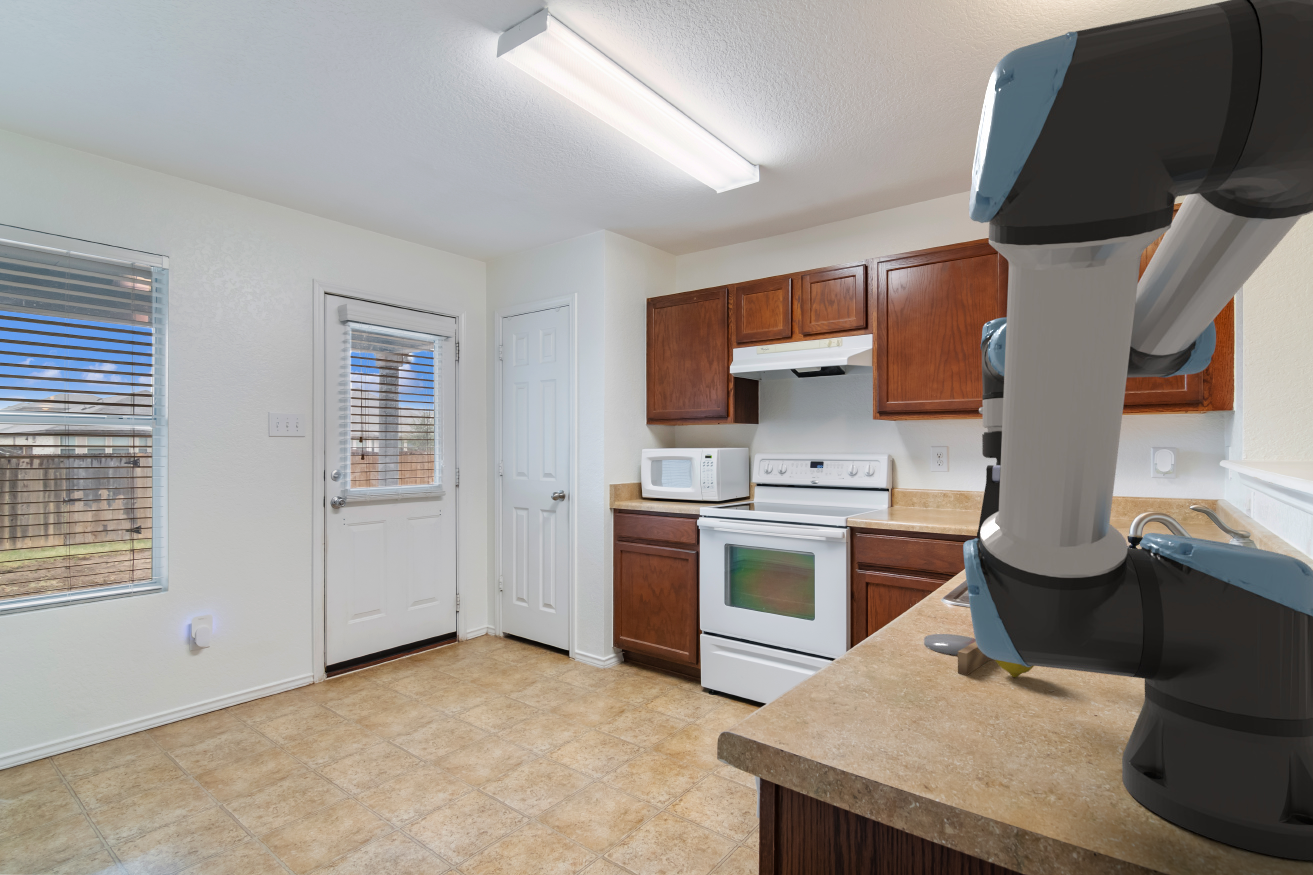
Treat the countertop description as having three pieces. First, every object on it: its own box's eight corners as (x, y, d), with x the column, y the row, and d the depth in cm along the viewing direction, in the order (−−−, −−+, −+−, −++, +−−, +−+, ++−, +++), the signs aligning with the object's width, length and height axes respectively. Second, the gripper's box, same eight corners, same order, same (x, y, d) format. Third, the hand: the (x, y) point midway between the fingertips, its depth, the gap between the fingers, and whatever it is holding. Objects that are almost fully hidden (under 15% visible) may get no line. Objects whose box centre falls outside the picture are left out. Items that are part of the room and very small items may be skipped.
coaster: (974, 660, 95) (974, 654, 95) (914, 646, 101) (914, 641, 101) (994, 647, 101) (994, 642, 101) (937, 635, 108) (937, 630, 108)
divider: (966, 674, 89) (966, 653, 89) (957, 672, 89) (957, 651, 90) (1008, 647, 101) (1008, 628, 101) (1000, 645, 102) (1000, 626, 102)
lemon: (1044, 685, 85) (1043, 625, 85) (999, 682, 86) (998, 623, 86) (1028, 671, 90) (1028, 615, 90) (986, 668, 91) (986, 612, 91)
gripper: (1011, 431, 100) (1012, 566, 100) (949, 428, 83) (950, 592, 82) (1067, 430, 95) (1068, 573, 94) (1013, 427, 77) (1014, 602, 77)
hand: (1013, 582), depth 88 cm, fingers open, 13 cm apart
